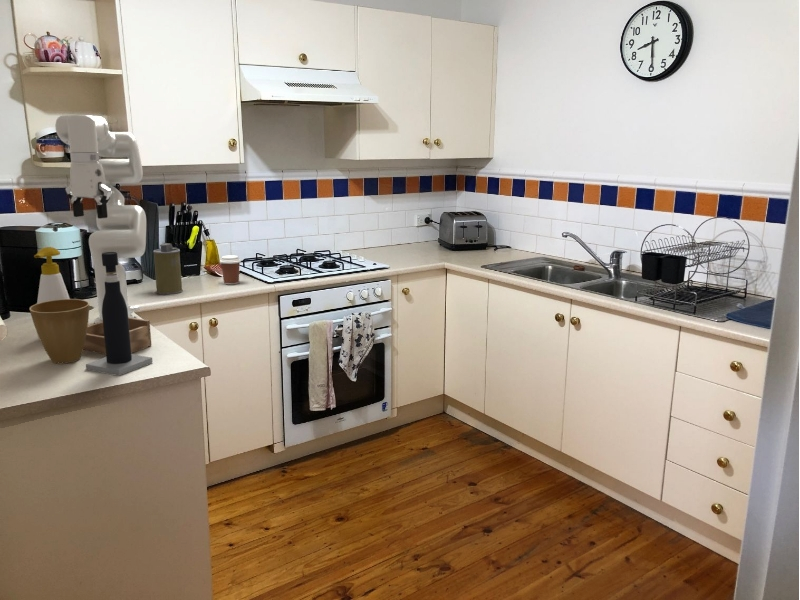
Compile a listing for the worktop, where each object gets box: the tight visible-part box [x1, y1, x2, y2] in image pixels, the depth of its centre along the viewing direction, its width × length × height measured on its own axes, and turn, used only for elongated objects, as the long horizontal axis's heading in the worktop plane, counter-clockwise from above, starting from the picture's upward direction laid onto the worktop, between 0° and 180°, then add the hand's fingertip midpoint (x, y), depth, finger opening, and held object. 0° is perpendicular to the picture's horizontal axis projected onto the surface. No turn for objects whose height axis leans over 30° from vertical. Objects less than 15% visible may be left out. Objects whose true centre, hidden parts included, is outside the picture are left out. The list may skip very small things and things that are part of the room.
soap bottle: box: [33, 246, 71, 304], centre depth 202 cm, size 13×10×29 cm
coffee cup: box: [219, 254, 242, 285], centre depth 290 cm, size 9×9×12 cm
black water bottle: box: [102, 252, 133, 364], centre depth 178 cm, size 6×6×30 cm
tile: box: [85, 353, 154, 376], centre depth 182 cm, size 12×12×2 cm
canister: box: [152, 242, 184, 295], centre depth 272 cm, size 11×10×20 cm
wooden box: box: [83, 317, 152, 355], centre depth 197 cm, size 12×16×8 cm
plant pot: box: [29, 298, 90, 364], centre depth 185 cm, size 15×15×16 cm
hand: (90, 217), depth 197 cm, fingers open, 9 cm apart
